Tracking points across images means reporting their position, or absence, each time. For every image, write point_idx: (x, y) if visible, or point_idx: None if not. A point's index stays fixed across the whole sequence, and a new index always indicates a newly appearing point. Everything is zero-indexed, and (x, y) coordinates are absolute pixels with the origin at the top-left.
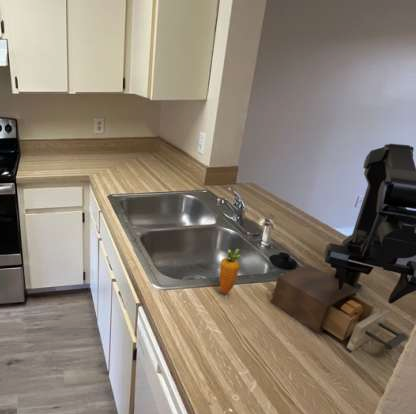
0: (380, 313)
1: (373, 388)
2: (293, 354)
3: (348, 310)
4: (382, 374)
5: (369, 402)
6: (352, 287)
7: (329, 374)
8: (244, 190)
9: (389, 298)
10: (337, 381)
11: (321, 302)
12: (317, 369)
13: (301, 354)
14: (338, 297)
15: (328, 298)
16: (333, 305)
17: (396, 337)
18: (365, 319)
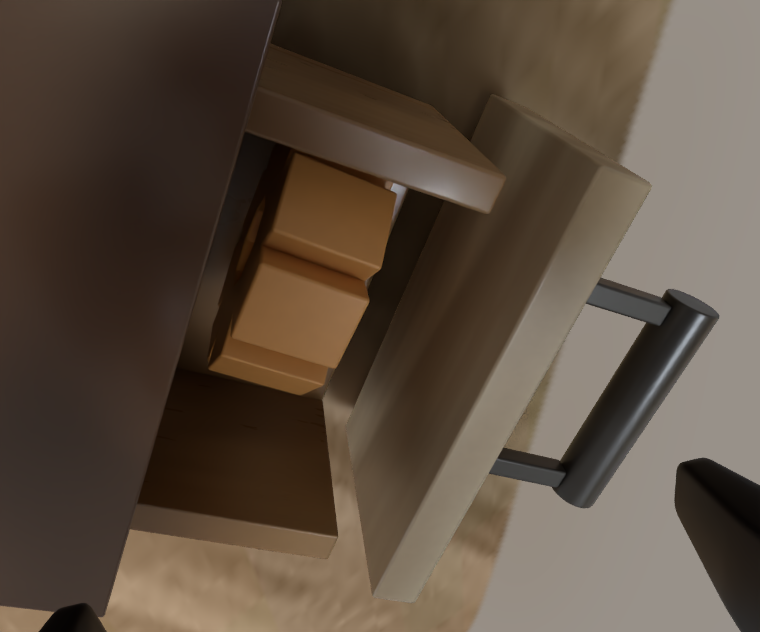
0: (557, 309)
1: (483, 546)
2: (134, 609)
3: (280, 384)
4: (522, 443)
5: (470, 614)
6: (196, 3)
7: (312, 600)
8: None
9: (702, 502)
10: (349, 609)
11: (40, 604)
12: (260, 610)
13: (164, 585)
14: (133, 423)
15: (59, 521)
16: None
17: (638, 401)
18: (431, 495)
